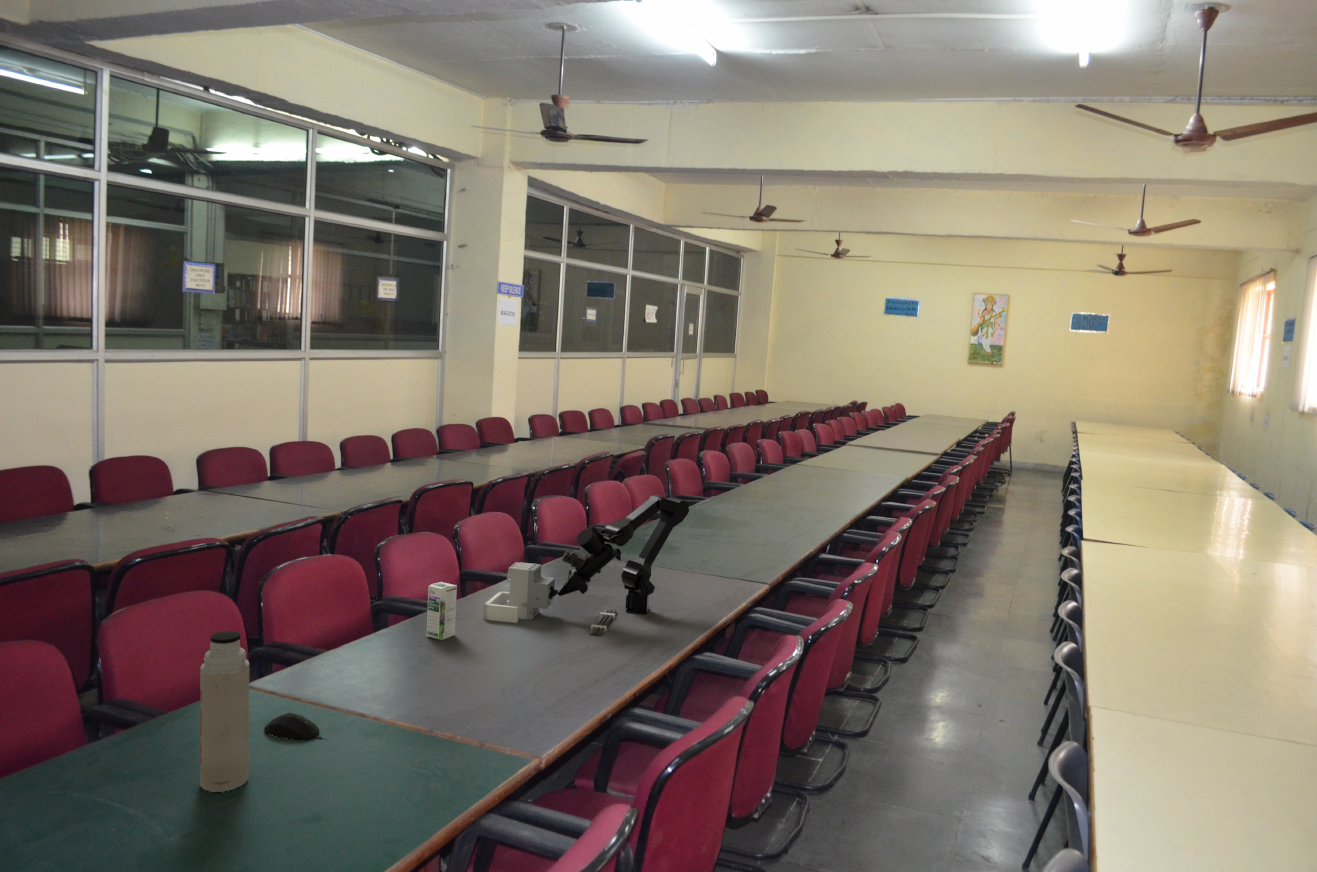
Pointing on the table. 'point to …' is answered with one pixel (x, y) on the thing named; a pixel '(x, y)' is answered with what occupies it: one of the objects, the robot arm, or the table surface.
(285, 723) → the gaming mouse
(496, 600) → the mounting bay
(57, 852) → the table surface
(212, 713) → the thermos bottle
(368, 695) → the table surface
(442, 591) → the syrup box
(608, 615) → the dressed cords
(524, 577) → the circuit breaker
